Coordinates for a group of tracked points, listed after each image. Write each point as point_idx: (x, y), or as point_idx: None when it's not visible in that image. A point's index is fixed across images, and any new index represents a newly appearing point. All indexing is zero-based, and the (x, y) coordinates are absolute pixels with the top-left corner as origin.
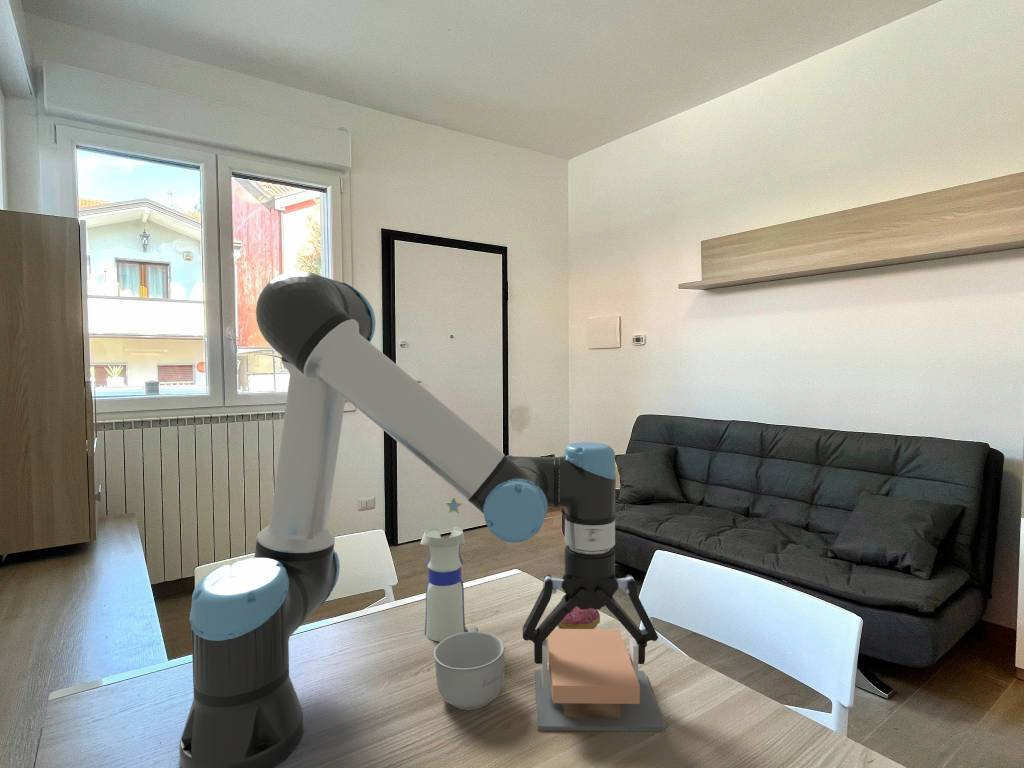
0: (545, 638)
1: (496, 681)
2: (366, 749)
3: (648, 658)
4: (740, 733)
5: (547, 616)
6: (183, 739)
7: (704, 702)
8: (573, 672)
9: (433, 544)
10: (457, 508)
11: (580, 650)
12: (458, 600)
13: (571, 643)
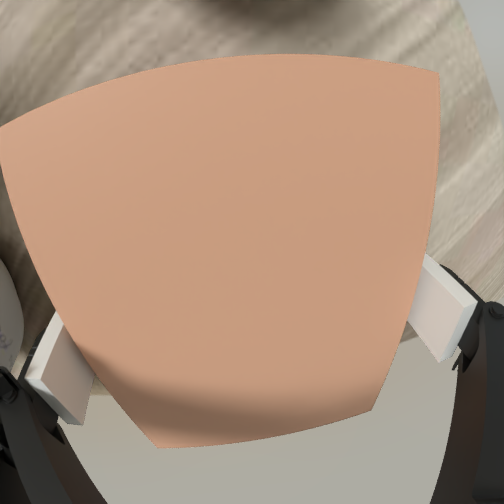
0: (69, 446)
1: (13, 357)
2: None
3: (420, 28)
4: (469, 280)
5: (22, 480)
6: None
7: (470, 211)
8: (199, 420)
9: None
10: None
11: (209, 320)
12: None
13: (150, 266)
